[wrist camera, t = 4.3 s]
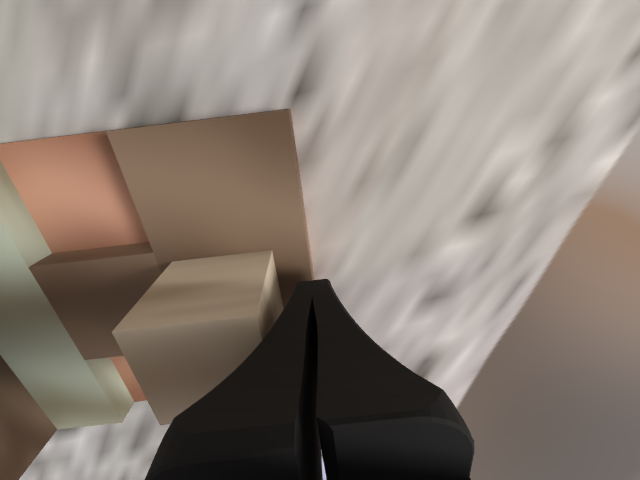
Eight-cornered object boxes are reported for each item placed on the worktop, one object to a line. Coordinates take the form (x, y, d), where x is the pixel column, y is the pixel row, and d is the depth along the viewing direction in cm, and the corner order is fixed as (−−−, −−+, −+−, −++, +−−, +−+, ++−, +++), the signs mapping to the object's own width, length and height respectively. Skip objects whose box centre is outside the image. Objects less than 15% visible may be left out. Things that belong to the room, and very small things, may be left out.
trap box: (327, 376, 17) (333, 463, 13) (68, 404, 17) (-7, 499, 13) (290, 108, 11) (280, 111, 7) (-105, 156, 11) (-343, 187, 7)
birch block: (287, 328, 13) (279, 412, 10) (199, 338, 13) (160, 425, 10) (272, 250, 12) (256, 315, 8) (172, 261, 12) (111, 332, 8)
